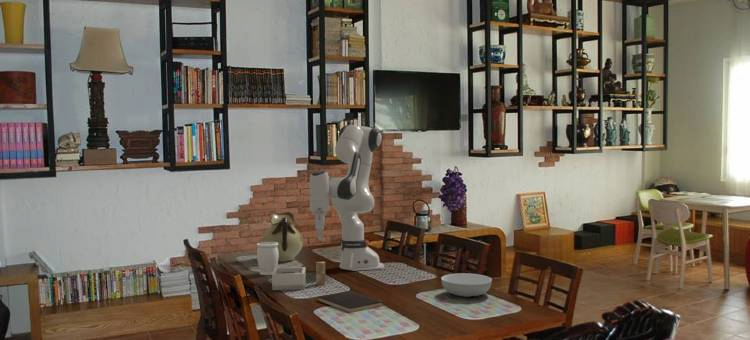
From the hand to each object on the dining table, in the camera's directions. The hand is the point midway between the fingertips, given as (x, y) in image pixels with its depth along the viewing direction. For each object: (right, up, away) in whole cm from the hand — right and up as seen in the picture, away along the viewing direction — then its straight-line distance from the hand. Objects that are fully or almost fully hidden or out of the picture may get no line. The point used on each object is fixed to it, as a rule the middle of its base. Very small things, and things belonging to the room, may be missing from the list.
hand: (320, 237), depth 294 cm
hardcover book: (+15, -23, -33) cm, 43 cm away
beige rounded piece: (-25, -18, +61) cm, 69 cm away
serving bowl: (+63, -22, -21) cm, 70 cm away
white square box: (-14, -21, -2) cm, 25 cm away
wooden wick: (0, -21, +1) cm, 21 cm away
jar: (-27, -20, +25) cm, 42 cm away
